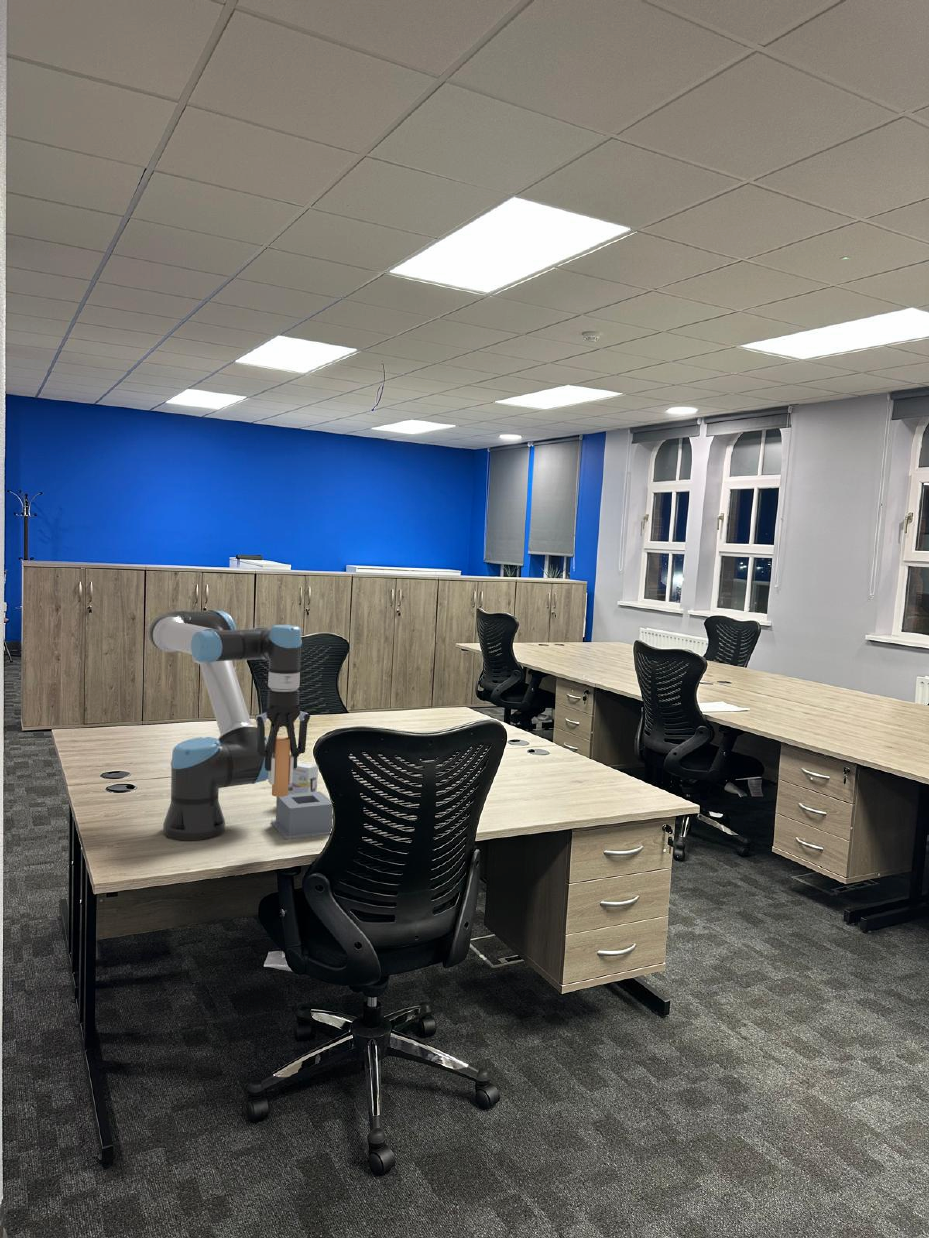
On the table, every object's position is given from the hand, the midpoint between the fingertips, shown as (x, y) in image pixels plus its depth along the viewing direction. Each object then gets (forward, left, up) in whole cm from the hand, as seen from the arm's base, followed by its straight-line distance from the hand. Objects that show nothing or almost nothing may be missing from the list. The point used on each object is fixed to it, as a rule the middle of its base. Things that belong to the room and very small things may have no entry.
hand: (280, 782), depth 216 cm
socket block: (+10, +11, -16) cm, 22 cm away
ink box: (+15, +31, -16) cm, 38 cm away
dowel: (0, 0, -3) cm, 3 cm away
